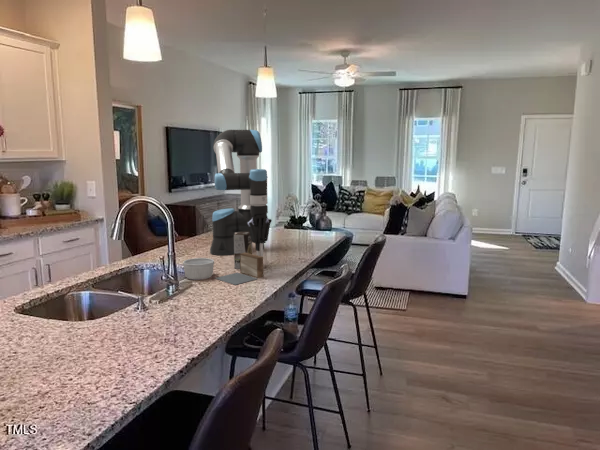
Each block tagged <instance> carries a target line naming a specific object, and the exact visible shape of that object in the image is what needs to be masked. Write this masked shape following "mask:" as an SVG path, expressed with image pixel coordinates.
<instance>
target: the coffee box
mask: <svg viewBox="0 0 600 450" xmlns="http://www.w3.org/2000/svg"><path fill="white" fill-rule="evenodd" d="M241 253H249V254H253V242H252V241H251V237H250V232H238V233H235V234H234V254H233V260H234V261H233V263H234V269H237V270H240V254H241Z"/></svg>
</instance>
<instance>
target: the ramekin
mask: <svg viewBox="0 0 600 450" xmlns="http://www.w3.org/2000/svg"><path fill="white" fill-rule="evenodd" d="M214 265H215V260H214V258H207V257H194V258H188V259H185V260H183V261H182V266H183V269H184V275H185V277H186V278H187V279H189V280H195V281H196V280H197V281H198V280H200V281H201V280H206V279H209V278H211V277H212V276H213V275H214V274H213V273H214V268H215V267H214Z"/></svg>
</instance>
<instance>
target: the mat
mask: <svg viewBox="0 0 600 450" xmlns="http://www.w3.org/2000/svg"><path fill="white" fill-rule="evenodd" d="M214 279H215V280H218V281H222V282H224V283H227V284H231V285H234V286H238V285H241V284H245V283H249V282H252V281H256V280H258V279H259V278H255V277H252V276H248V275H245V274H241V273H240V272H234V273H230V274H226V275H222V276H217V277H214Z"/></svg>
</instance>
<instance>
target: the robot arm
mask: <svg viewBox="0 0 600 450" xmlns="http://www.w3.org/2000/svg"><path fill="white" fill-rule="evenodd" d="M212 147H213V151H214V153H215V155H216V166H217V172H216V173H214V189H215V190H217V191H237V190H238V191H240V205H239V206H238V207H237V209H238V210H235V209H234V207H232V208H221V209H218V210H214V211H213V212H212V220H211V221H212V241H211V245H210V248H209V254H211V255H213V256H230V255H234V234H236V233H238V232H250V237H251V241H252V244H255V251H256V255H258V256H262V257H263V258H264V251H265V244H266V243H267V241H269V235H270V233H269V232H270V227H271V223H272V219H271V218H269V217H268V213H269V211H268V208H269V206H268V205H267V204H268V171H267V169H264V168H259V169H258V168H257V159H258V158H259V157H260V153H262V151H263V143H262V138H261V133H260V132H259V131H258V130H257V129H227V130H226V129H225V130H224V131H222V132H220V134H218V135H217V136H216V138H215V139H214V141H213V145H212ZM233 153H236V157H237V158H239V167H240V168H239V171H240V172H236V173H235V168H234V167H235V166H234V158H233Z"/></svg>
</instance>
